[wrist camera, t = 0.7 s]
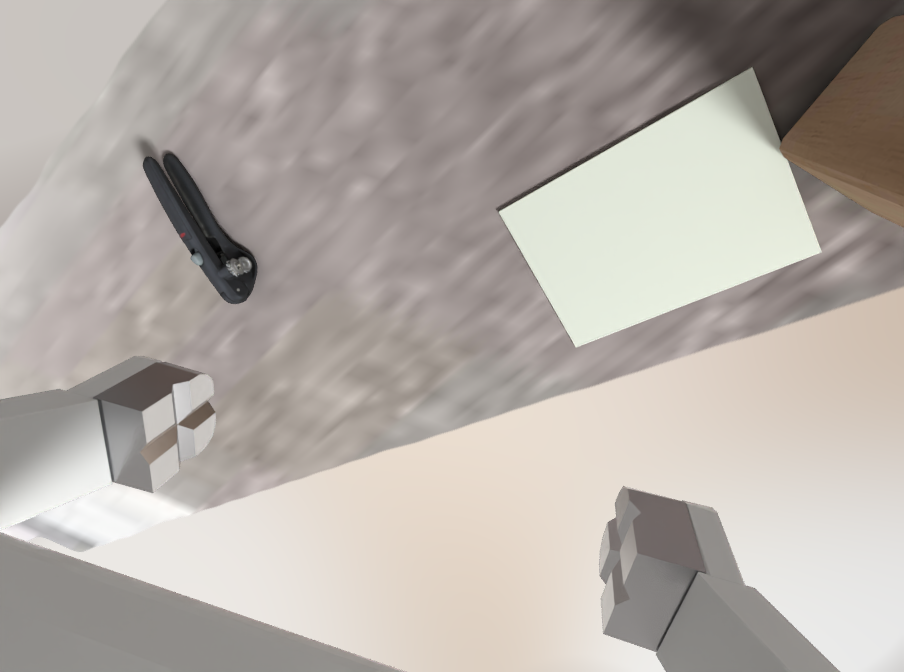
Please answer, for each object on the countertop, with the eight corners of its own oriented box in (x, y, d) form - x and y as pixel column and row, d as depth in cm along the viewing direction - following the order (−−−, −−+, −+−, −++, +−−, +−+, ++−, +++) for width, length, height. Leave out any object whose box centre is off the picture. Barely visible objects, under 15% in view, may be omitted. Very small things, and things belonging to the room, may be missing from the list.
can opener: (279, 284, 58) (250, 304, 54) (239, 301, 61) (207, 321, 56) (189, 137, 52) (148, 144, 48) (149, 164, 55) (106, 173, 51)
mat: (751, 67, 37) (752, 67, 36) (819, 250, 41) (821, 252, 41) (499, 210, 47) (498, 211, 46) (576, 345, 51) (576, 347, 51)
